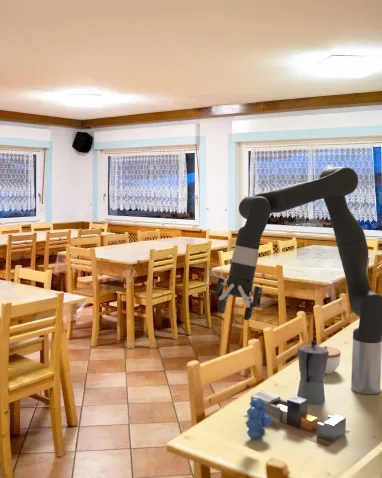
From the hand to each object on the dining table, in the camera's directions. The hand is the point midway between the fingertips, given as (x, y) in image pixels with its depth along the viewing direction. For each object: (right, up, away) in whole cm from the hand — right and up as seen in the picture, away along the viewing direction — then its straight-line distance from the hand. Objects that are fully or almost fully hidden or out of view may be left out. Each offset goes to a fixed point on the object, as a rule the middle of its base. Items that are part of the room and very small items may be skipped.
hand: (233, 316), depth 161 cm
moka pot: (+25, -29, +9) cm, 39 cm away
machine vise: (+17, -30, -8) cm, 36 cm away
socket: (+25, -30, -16) cm, 42 cm away
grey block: (+15, -29, -7) cm, 33 cm away
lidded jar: (+37, -26, +39) cm, 59 cm away
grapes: (+6, -31, -15) cm, 35 cm away
